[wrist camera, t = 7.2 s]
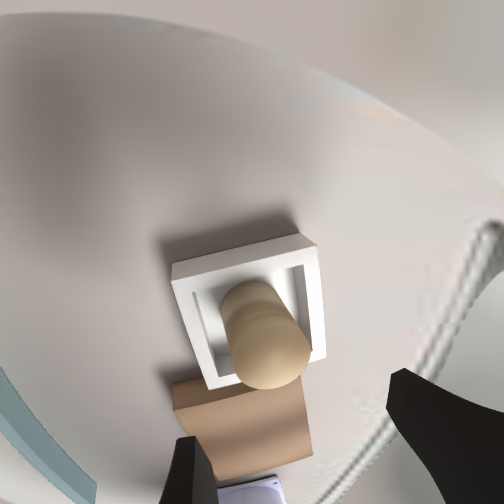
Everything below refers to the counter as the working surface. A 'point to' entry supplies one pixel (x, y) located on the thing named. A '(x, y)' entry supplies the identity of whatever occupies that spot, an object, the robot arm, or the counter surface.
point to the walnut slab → (244, 425)
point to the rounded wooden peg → (263, 336)
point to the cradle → (240, 270)
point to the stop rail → (41, 447)
